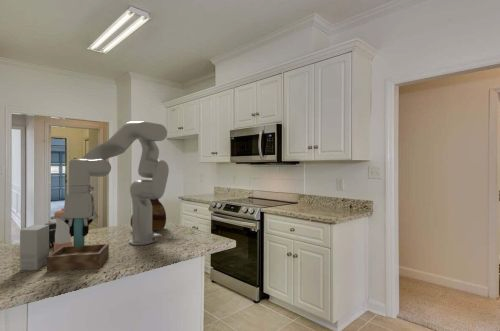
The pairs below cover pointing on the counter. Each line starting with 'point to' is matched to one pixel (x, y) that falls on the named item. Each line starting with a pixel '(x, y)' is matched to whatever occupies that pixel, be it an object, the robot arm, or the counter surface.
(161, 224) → the ceramic pitcher
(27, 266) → the skincare box
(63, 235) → the salt shaker
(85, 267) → the box
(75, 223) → the peg
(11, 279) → the counter surface
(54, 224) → the battery charger
